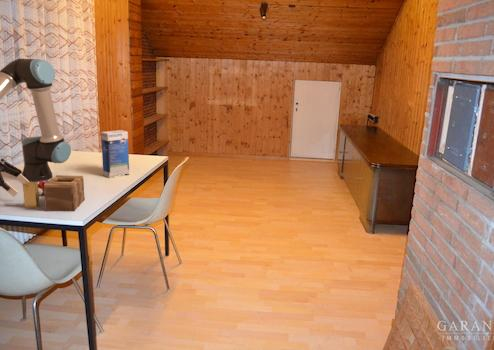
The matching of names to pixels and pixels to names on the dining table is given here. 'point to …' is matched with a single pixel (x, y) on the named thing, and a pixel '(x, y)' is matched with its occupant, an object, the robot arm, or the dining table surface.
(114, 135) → the string lights box
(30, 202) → the tan rectangular block
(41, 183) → the multicolored rounded segment toy
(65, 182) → the wooden box with opening
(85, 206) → the dining table surface
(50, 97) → the robot arm
